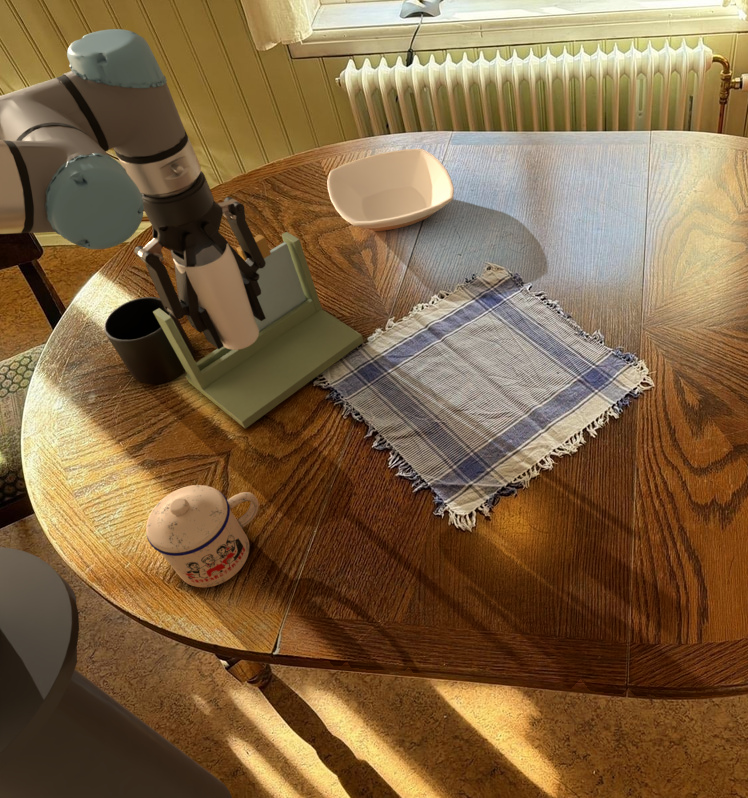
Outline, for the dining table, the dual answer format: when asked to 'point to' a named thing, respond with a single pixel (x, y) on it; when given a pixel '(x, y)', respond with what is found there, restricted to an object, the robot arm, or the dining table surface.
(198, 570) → the teacup with lid
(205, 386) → the window frame
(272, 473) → the dining table surface
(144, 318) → the mug
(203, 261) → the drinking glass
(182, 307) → the robot arm
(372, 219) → the bowl
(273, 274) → the panel
